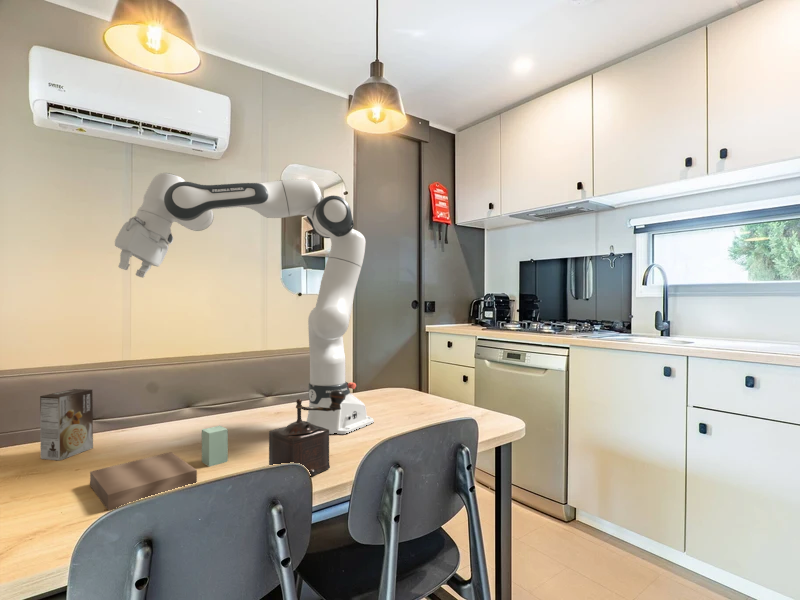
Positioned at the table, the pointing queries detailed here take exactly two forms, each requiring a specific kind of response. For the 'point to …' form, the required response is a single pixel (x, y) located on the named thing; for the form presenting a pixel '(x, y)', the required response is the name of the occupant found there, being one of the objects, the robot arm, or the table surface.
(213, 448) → the sage block
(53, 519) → the table surface
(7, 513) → the table surface
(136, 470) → the walnut platform
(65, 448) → the coffee box
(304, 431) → the manual coffee grinder
